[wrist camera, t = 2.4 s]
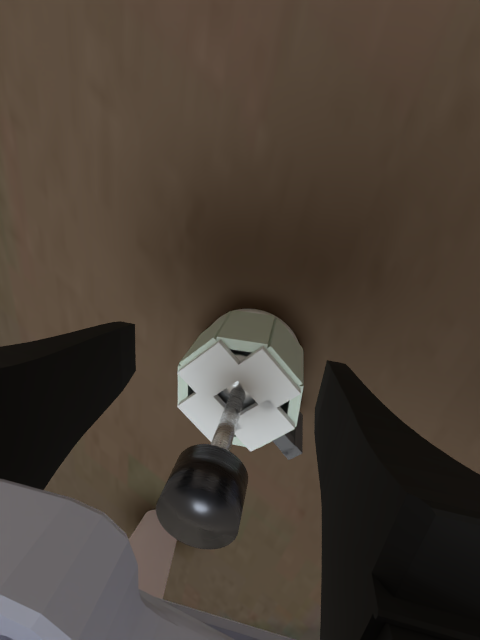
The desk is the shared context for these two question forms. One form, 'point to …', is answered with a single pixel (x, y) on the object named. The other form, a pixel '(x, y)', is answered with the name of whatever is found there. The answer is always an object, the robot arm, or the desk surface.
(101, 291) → the desk surface
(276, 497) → the desk surface
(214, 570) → the desk surface
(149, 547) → the smoothie
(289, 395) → the faceted mint canister
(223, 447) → the plunger
